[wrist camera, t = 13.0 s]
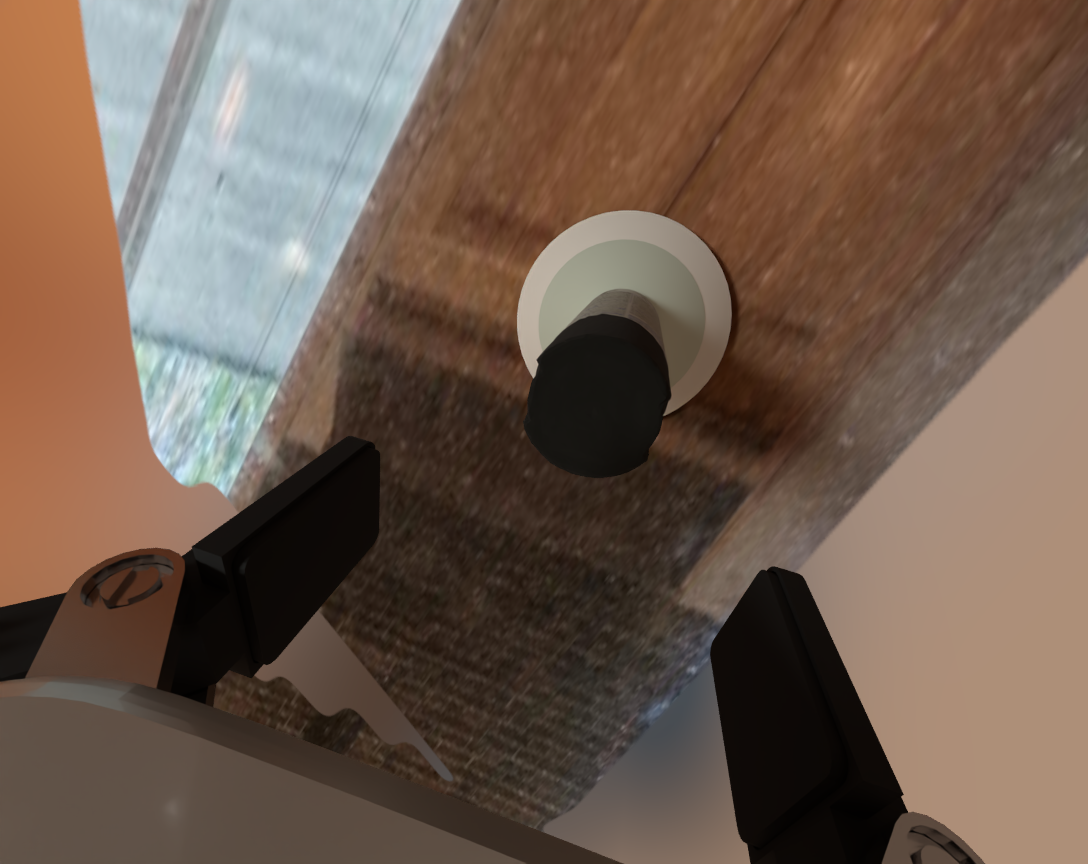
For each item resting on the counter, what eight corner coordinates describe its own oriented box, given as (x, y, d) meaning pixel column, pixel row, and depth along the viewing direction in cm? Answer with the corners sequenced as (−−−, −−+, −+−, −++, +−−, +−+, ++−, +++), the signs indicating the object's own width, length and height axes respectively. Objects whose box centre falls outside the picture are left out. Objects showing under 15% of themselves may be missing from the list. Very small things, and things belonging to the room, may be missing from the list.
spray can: (572, 354, 37) (504, 459, 19) (592, 276, 34) (534, 314, 16) (644, 375, 36) (643, 504, 18) (672, 297, 33) (704, 362, 15)
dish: (542, 187, 33) (539, 186, 32) (768, 241, 31) (773, 241, 30) (505, 391, 41) (501, 395, 40) (681, 442, 39) (683, 448, 38)
